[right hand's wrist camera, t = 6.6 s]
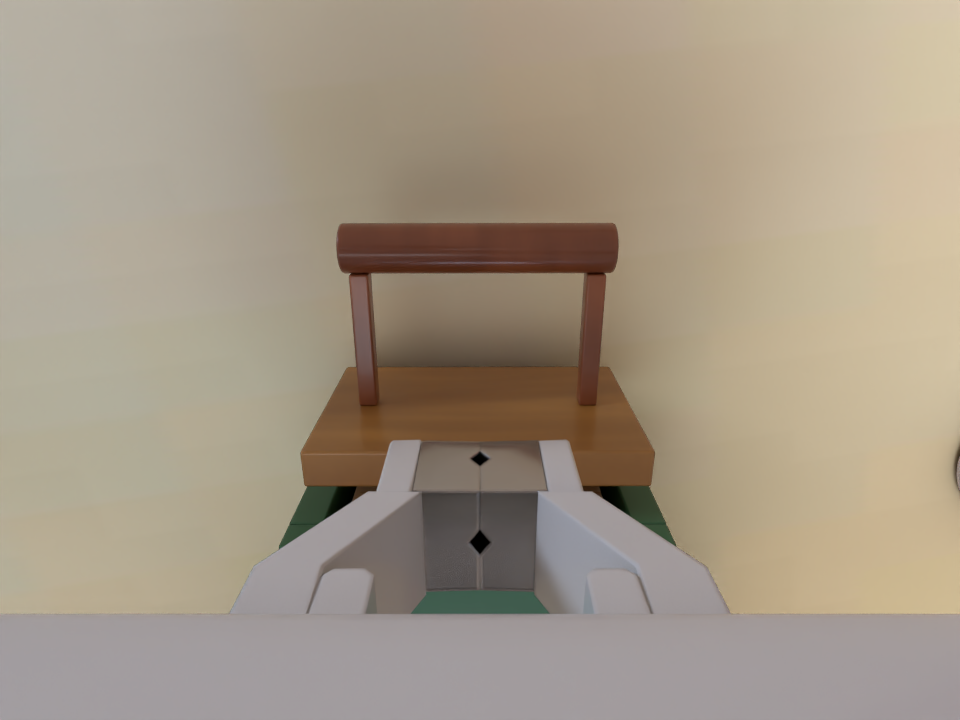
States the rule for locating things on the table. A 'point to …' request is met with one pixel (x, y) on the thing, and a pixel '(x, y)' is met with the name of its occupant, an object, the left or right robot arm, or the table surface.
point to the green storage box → (333, 498)
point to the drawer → (477, 390)
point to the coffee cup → (958, 473)
